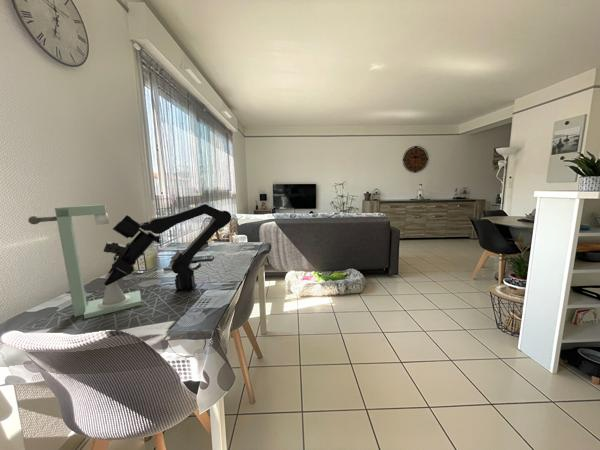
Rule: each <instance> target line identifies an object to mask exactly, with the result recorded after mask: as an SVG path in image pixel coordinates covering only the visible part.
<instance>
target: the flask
mask: <svg viewBox="0 0 600 450" xmlns="http://www.w3.org/2000/svg"><path fill="white" fill-rule="evenodd" d="M110 274H111V273H110ZM110 274H108V273H107V274H105V275H104V277H105V279H106V280H107V278H108V277H109V275H110ZM124 294H125V293H124V292H123V290H122V289H121V287H120V285H119V284H118V282H117V281H115V282H113V283H111V284H109V285H107V286H106V285H105V289H104V294H103V298H102V299H103V301H102V304H103V305H107V304H114V303H118V302H121V301H123V300H124V299H126V297H125V295H124Z"/></svg>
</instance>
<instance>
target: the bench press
mask: <svg viewBox="0 0 600 450" xmlns="http://www.w3.org/2000/svg"><path fill="white" fill-rule="evenodd" d="M54 211H55V216H43V217H42V216H41V217H38V216H37V215H31V216H29V218H27V220H28V223H29V224H31V225H38V224H39V223H44V222H56V221H57V222H56V223H57V226H58V227H57V228H58V233H59V238H60V244H61V249H62V255H63V259H64V266H65V271H66V278H67V282H68V288H69V293H70V298H71V304H72V308H73V309H72V310H73V314H74V317H75V318H76V317H80V316H84V317H83V318H84V320H85V319H89V318H93V317H97V316H102V315H105V314H109V313H114V312H118V311H122V310H125V309H130V308H133V307H138V306H142V295H141V290H136V291H131V292H130V291H129V292H127V293H124V295H125V297H126V299H124V300H123V301H121V302H118V303H114V304H107V305H103V304H102V301H103V298H98V299H94V300H89V301H87V297H86V290H85V286H84V280H83V274H82V269H81V263H80V256H79V251H78V247H77V245H78V244H77V241H76V234H75V229H74V223H73V217H78V216H79V217H81V216H93V215H94V220H95V221H94V222H95V225H97V226H99V225H109V224H110V223H109V222H110V221H109V214H108V212H107V206H106V204H94V205H93V204H91V205H76V206H73V205H72V206H58V207H54Z"/></svg>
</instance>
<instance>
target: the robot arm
mask: <svg viewBox="0 0 600 450" xmlns="http://www.w3.org/2000/svg"><path fill="white" fill-rule="evenodd" d="M202 215H206V216H209V217H211V218H210V221H209V224H208V225H207V226H206V227H205V228H203V230H202V231H201V232H200V234H199V235H197V237H195V239H193V241H192V242H191V243H190V244H189V245H188V246H187V247H186V249H184V250H182V251H179V250H177V251H176V252H175V254H174V255H173V256H171V257H170V258H171V260H170V261H169V268H170V269H171V271H172V272H173V274H175V279H174V283H175V284H174V285H175V292H177V293H178V292H191V291H193V290H194V289H195V288H196V287H197V286H198V285H197V283H196V282H195V281H196V280H195V270H193V268H192V267H191V263H192V261H193V259H194V257H195V256H196V255H197V254H198V252H199V251H200V250H201V249H202V248H203V247H204V246H205V245H206V244H207V242H208V241H209V240H210V239H211V238H212V237H213V236H214V235H215V234H216V232H218V231H219V230H222V229H223V228H224V227H225V226H227V225H228V224H229V223H230V222H231V220H232V214H231V213H230V212H229V211H227V210H223V209H217V208H215V207H213V206H210V205H208V204H207V203H206V204H205V203H201V204H199V205H197V206H194V207H191V208H188V209H184V210H182V211H180V212H177V213H174V214H171V215H163V216H157V217H152V218H151V219H150V220H148V221H146V222H141V223H139V222H138V221H136V220H134V218H132V217H131V216H130V215H129V214H127V215H125V216H124V217H123V218H122V219H121V220H120V221H118V222H117V223H116V224H115V226H114V227H112V230H113V231H115V232H116V233H118V235H121V236H122V237H124V238H126V239H129V238H132V240H131V241H130V242H127V244H121V243H118V242H114V241H109V240H108V241H106V243H105V246H104V248H103V252H104V253H107V254H108V253H112V254H114V256H113V263H112V264H111V267H110V270H109V271H108V272H107V274H110V273H111V274H110V275H109V277H108V278H107V279H106V280H105V281H104V283H103V284H104V286H105V287H106V286H107V285H109V284H111V283H113V282H115V281H116V282H117V281H119V280H121V279H123V278H125V277H127V276H129V275H130V276H131V274H132V273H133V272H134V271H135V264H136V263H137V260H138V259H139V258H140V257H141V256H143V255H144V254H145V252H146V251H147V249H148V248H149V247H151V245H152V244H153V243H154V242H156V243H157V244H160V243H161V241H160V238H161V237H160V235H159V234H163V233H165V232H166V231H169V230H170V229H172V228H173V227H175V225H178V224H180V223H183V222H186V221H189V220H192V219H195V218H196V217H199V216H202ZM145 231H147V232H145ZM155 234H156V235H155Z"/></svg>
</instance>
